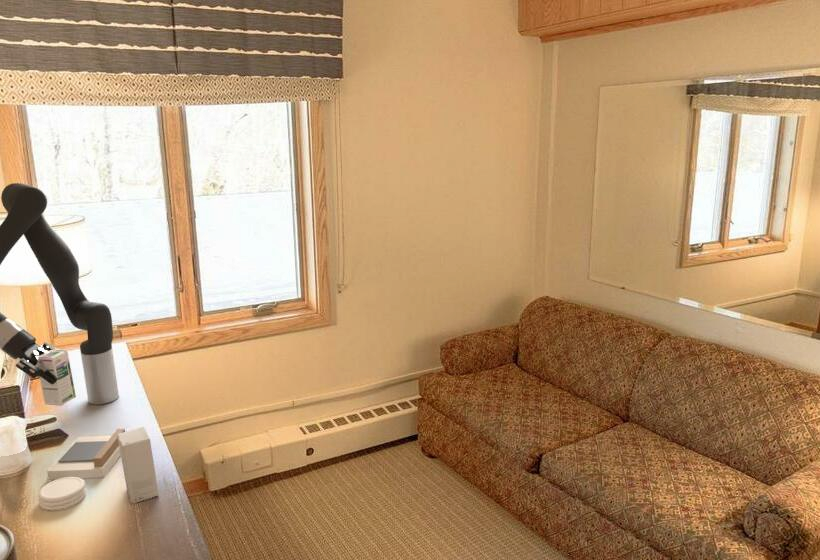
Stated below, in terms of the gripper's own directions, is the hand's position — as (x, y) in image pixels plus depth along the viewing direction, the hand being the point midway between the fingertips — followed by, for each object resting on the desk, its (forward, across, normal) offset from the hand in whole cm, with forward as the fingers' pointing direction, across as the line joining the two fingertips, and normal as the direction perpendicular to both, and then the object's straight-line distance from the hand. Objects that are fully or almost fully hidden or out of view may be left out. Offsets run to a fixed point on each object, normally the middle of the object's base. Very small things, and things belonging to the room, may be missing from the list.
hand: (61, 376), depth 178 cm
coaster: (+22, -30, +6) cm, 38 cm away
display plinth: (+21, -12, +6) cm, 25 cm away
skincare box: (+35, -29, -7) cm, 46 cm away
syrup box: (+4, 0, +6) cm, 8 cm away
